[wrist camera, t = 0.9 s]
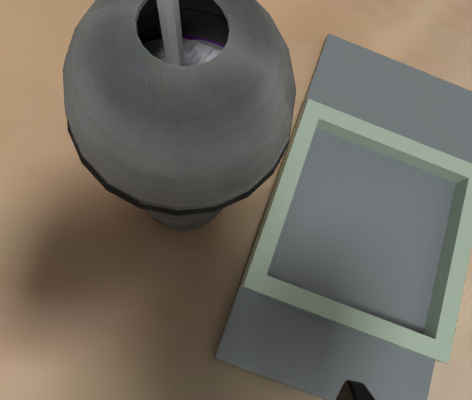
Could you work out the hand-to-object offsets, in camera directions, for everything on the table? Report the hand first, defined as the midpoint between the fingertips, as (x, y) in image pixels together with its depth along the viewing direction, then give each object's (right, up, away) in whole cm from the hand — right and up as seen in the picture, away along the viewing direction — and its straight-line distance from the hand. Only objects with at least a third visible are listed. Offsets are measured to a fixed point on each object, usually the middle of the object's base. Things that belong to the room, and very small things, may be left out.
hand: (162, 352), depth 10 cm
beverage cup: (-1, +4, +15) cm, 15 cm away
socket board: (+10, +3, +16) cm, 19 cm away
